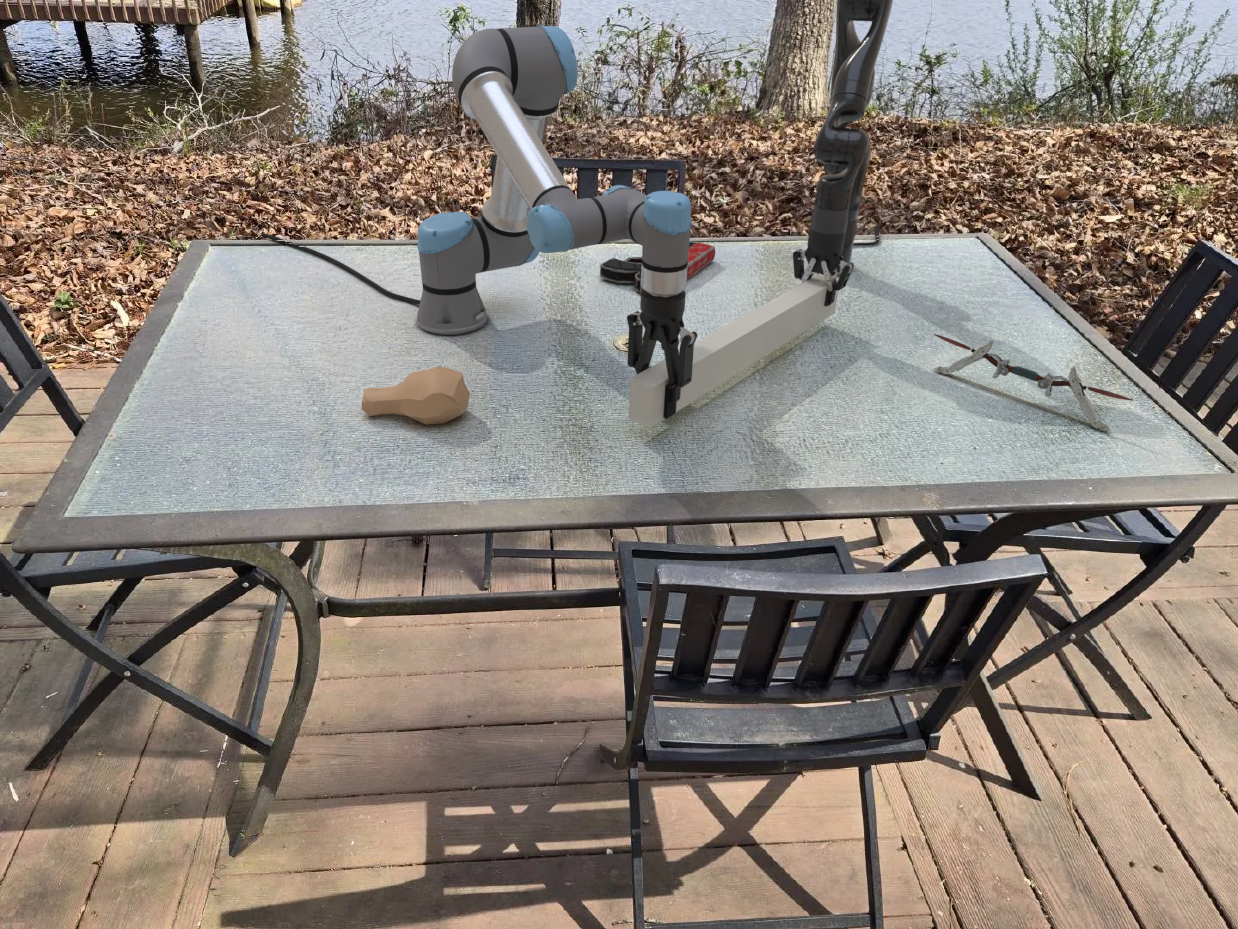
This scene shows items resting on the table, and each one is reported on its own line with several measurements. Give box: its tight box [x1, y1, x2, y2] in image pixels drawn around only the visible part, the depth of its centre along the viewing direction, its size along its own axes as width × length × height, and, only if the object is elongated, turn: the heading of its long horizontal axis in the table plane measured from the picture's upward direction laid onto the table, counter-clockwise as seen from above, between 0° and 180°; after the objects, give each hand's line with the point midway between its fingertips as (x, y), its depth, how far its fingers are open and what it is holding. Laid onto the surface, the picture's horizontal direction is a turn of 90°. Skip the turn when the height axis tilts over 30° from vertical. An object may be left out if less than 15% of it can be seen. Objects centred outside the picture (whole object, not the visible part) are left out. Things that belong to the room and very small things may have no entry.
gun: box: [599, 241, 716, 294], centre depth 224 cm, size 4×31×19 cm
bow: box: [934, 333, 1134, 432], centre depth 170 cm, size 39×2×10 cm, turn 47°
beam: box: [628, 273, 839, 429], centre depth 175 cm, size 68×5×8 cm, turn 140°
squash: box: [361, 365, 471, 426], centre depth 160 cm, size 11×20×9 cm, turn 90°
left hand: (656, 409), depth 158 cm, fingers closed on beam, 5 cm apart
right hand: (816, 301), depth 194 cm, fingers closed on beam, 5 cm apart
